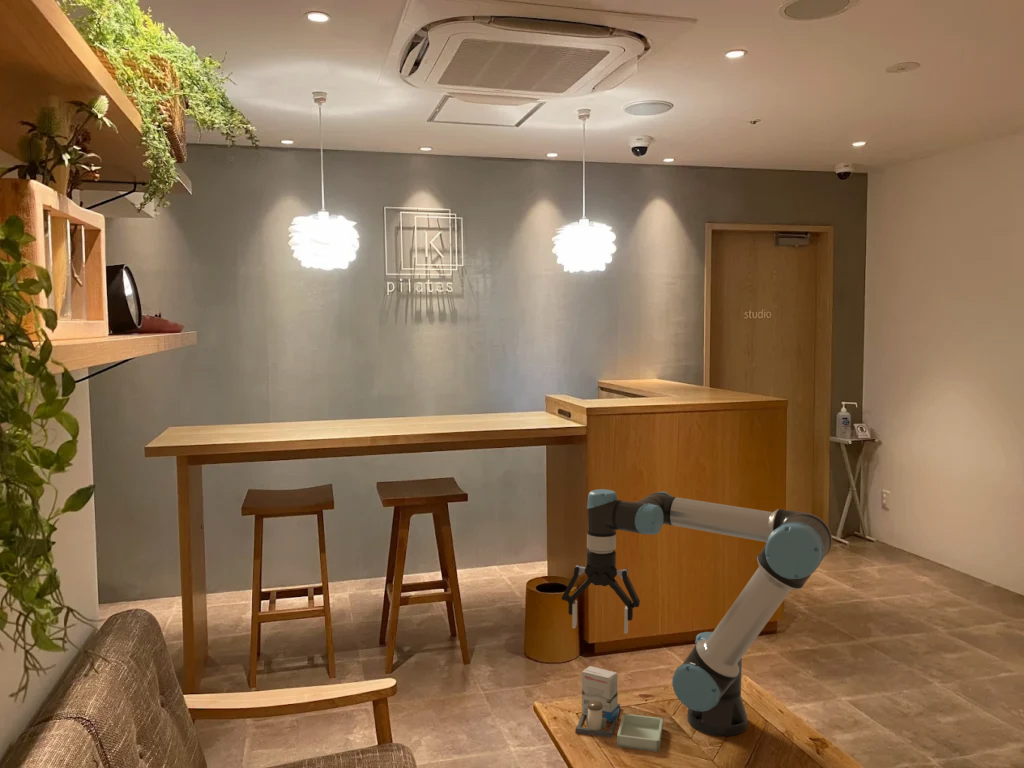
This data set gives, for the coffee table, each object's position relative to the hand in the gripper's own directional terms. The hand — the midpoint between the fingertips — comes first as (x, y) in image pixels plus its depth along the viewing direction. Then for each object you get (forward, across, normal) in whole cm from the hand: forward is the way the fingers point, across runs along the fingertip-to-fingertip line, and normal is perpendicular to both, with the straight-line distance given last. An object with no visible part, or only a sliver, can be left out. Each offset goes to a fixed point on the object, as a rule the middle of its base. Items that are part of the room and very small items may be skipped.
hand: (600, 629), depth 215 cm
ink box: (+23, 0, 0) cm, 23 cm away
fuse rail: (+24, 0, +2) cm, 24 cm away
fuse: (+24, 0, +8) cm, 25 cm away
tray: (+24, -12, +8) cm, 28 cm away
